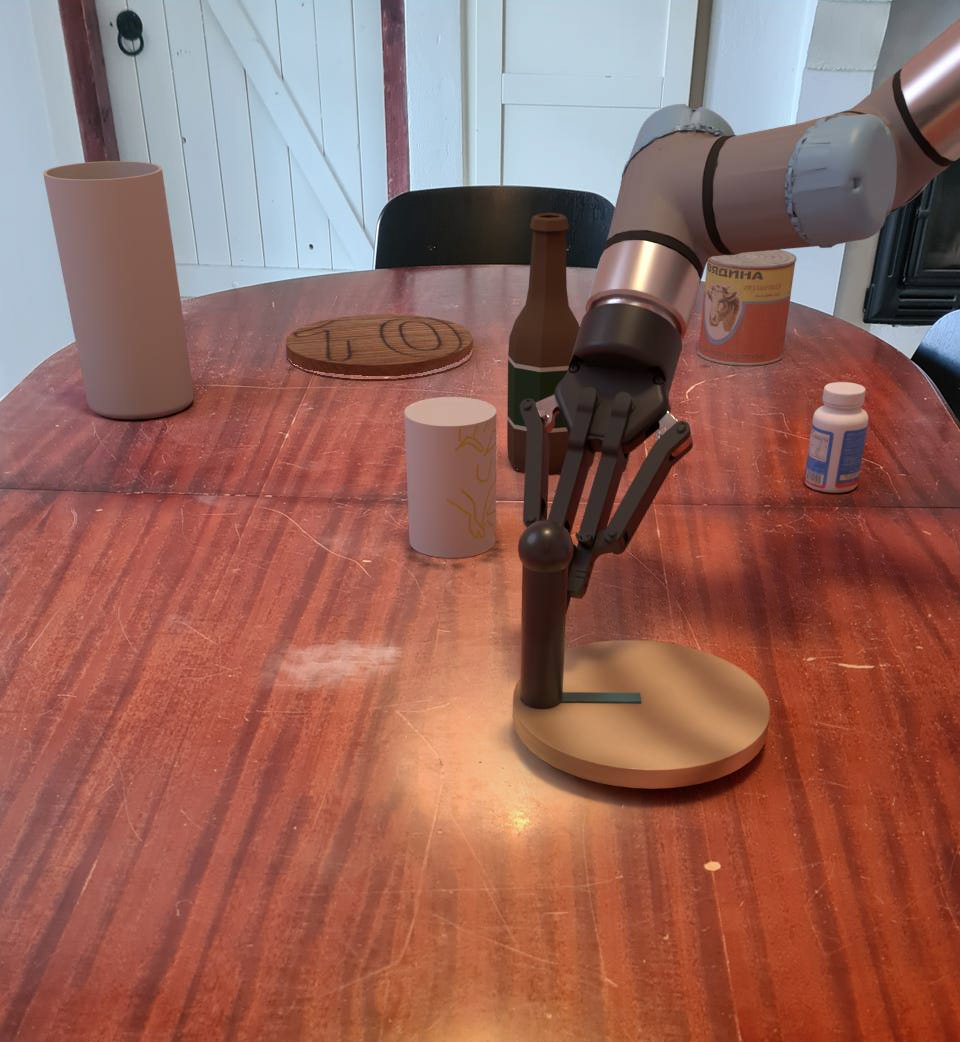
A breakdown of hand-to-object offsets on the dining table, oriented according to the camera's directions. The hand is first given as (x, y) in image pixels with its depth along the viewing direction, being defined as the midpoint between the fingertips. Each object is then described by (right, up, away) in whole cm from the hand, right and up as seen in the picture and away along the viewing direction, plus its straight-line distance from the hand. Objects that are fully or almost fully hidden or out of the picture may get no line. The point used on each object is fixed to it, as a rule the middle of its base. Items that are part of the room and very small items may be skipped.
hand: (544, 636), depth 87 cm
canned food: (+30, +51, +78) cm, 98 cm away
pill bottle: (+31, +22, +40) cm, 56 cm away
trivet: (-18, +52, +79) cm, 96 cm away
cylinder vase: (-45, +38, +61) cm, 85 cm away
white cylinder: (-7, +14, +29) cm, 33 cm away
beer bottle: (+2, +26, +45) cm, 52 cm away
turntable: (+7, -6, +1) cm, 9 cm away
